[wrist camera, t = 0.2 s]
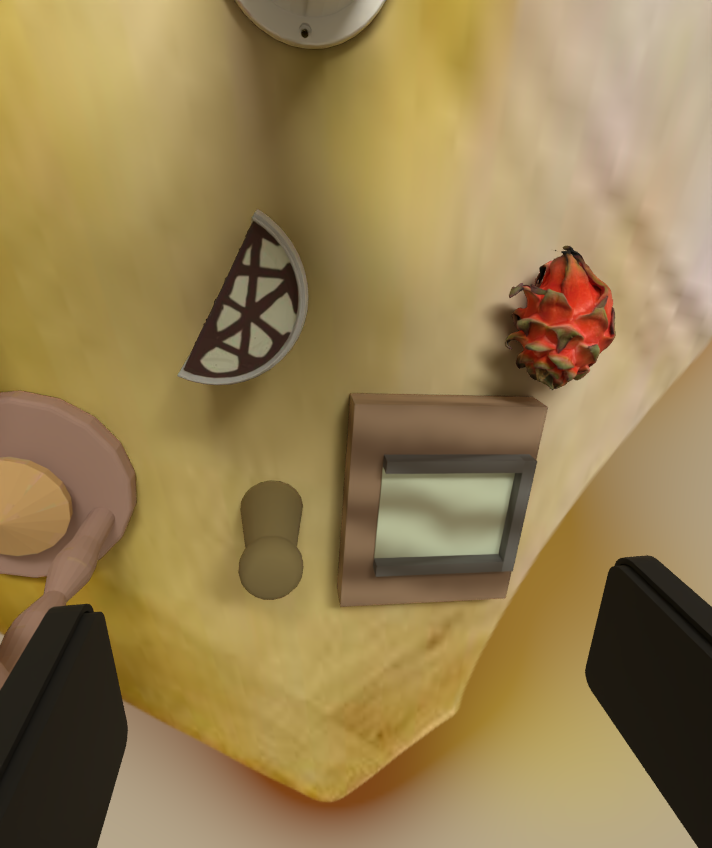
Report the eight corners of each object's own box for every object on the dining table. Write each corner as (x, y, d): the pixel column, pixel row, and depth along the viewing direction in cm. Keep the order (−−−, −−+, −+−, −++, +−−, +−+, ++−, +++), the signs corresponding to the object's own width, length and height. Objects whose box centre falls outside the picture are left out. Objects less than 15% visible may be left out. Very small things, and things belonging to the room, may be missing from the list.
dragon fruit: (513, 380, 50) (524, 253, 47) (609, 387, 46) (627, 249, 43) (494, 393, 42) (505, 243, 40) (606, 403, 39) (627, 238, 36)
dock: (350, 393, 46) (357, 410, 42) (532, 396, 49) (556, 412, 45) (337, 586, 54) (342, 617, 50) (494, 580, 57) (511, 608, 53)
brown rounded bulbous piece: (254, 541, 51) (249, 622, 40) (230, 493, 48) (218, 565, 38) (311, 521, 51) (320, 596, 41) (290, 472, 48) (294, 538, 38)
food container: (262, 379, 44) (258, 421, 35) (195, 347, 43) (173, 382, 33) (329, 251, 41) (344, 260, 32) (260, 210, 39) (256, 208, 30)
